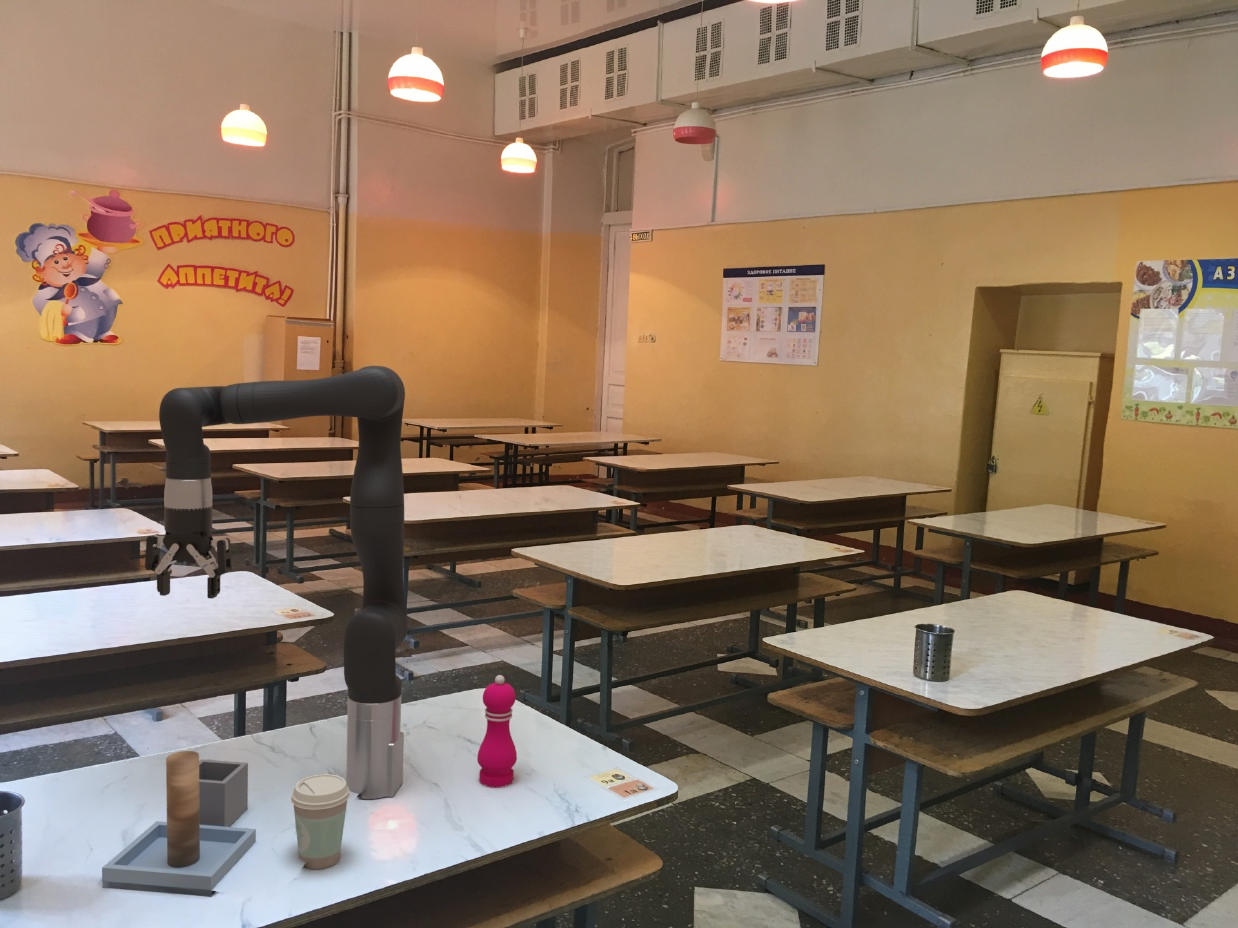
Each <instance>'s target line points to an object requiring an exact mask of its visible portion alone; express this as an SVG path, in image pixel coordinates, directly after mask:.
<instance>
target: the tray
mask: <svg viewBox="0 0 1238 928" xmlns="http://www.w3.org/2000/svg"><path fill="white" fill-rule="evenodd" d="M256 834H257V829H256V828H247V827H235V826H230V827H223V826H211V825H200V859H199V860H198V861H197V862H196V863H195V864H193V865H191V866H187V867H183V868H174V867H170V866H169V865H168V864H167V821H158V820H157V821H154V823H153V824H152V825H150V826H149V827H148V828H147V829H145V830H144V831H143V832H142V833H140V835H138V837H136V838H135V839H134V840H133V841H132V842H130V843H129V844H128V845H127V846H125V848H123V849H122V850H121V851H119V853H117V854H116V855H115V856H113V858H112V859H110V860H109V861H108V862H107V863H106V864H104V865H103V866H102V867H101V885H102V887H101V888H103V889H113V890H114V889H115V890H124V891H137V892H138V891H139V892H148V893H160V894H162V893H163V894H171V895H172V894H175V895H187V896H199V897H208V898H212V897H213V896H214V894H215V893H216V892H217V890H213V889H214V888H215V887H216V886H217V885H218V884H219V883H220V881H221V880H222V879H223V878H224V877H225V876H226V875H227V874H228V873H229V872H230V871H231V870H232V868H233V867H234V866H235V865H236V864H237V863H238V862H240V859H241V858H243V856H244V855H245V854H246V853H247V852H248V851H249V850H250V849H251V847H252V846H254V844H255V843H256V842H257V839H256V838H257V836H256Z"/></svg>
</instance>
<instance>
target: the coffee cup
mask: <svg viewBox="0 0 1238 928" xmlns="http://www.w3.org/2000/svg"><path fill="white" fill-rule="evenodd" d="M350 796H351V791H350V790H349V788H348V786H347V783H346V778H344V777H342V776H340V775H336V774H329V773H326V774H325V773H324V774H323V773H321V774H315V775H310V776H307V777H304V778H302V779H300V780H299V781H297V782H296V784H295V785H294V789H293V791H292V793H291V797H290V802H291V804H292V805H293V813H294V820H295V821H294V823H295V830H296V838H297V841H296V842H297V848H298V857H299V860H301V861H302V862H303V863H304V865H303V866H302V867H303V868H306V869H310V870H322V869H326V868H327V869H328V868H329V867H331V866H334V865H335V864H337V863H338V861H339V859H340V856H341V849H342V841H343V834H344V829H345V821H346V820H345V819H346V812H347V806H348V805H347V804H348V800H349V798H350Z"/></svg>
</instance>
